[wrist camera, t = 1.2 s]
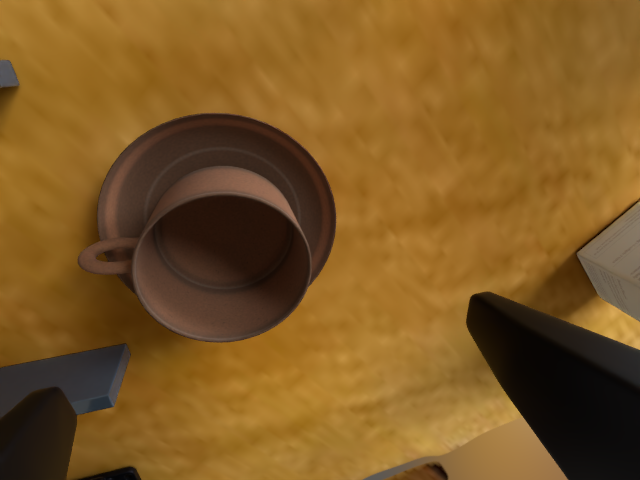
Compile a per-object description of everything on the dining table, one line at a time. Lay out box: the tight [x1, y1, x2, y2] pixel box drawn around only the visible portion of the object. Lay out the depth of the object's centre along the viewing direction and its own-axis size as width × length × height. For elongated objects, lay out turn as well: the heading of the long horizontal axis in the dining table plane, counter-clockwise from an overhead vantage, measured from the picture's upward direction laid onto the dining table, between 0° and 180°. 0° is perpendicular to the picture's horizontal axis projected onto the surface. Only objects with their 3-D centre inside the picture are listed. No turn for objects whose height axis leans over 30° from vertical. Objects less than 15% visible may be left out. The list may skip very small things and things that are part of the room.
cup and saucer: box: [78, 113, 336, 342], centre depth 17 cm, size 12×12×6 cm
